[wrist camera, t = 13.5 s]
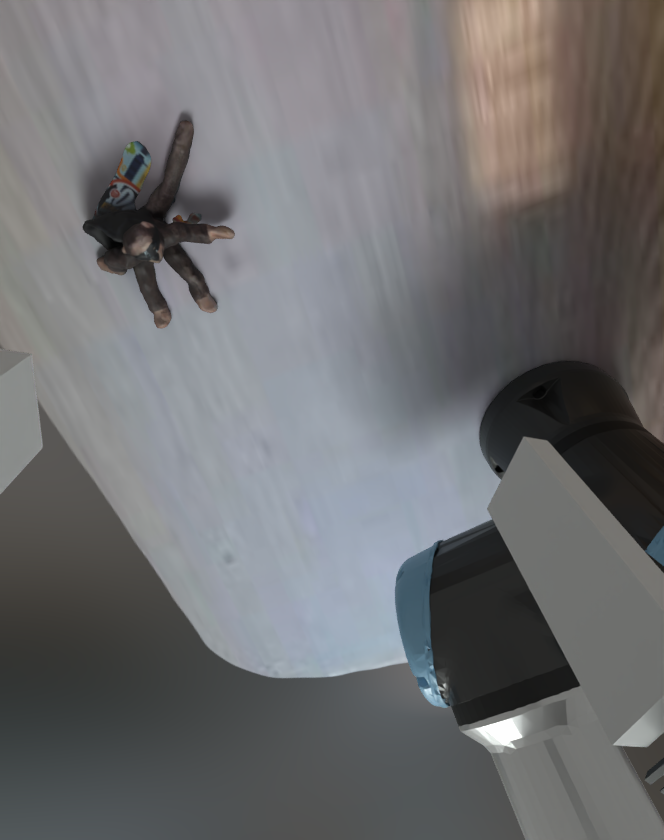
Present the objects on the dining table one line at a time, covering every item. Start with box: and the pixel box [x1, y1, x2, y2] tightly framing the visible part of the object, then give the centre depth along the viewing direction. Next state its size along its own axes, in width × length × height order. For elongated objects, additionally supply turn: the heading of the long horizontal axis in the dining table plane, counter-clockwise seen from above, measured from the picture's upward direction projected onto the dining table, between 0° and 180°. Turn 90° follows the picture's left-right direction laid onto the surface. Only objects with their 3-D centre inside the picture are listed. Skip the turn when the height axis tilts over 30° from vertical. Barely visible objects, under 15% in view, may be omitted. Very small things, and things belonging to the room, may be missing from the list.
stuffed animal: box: [83, 121, 235, 328], centre depth 36 cm, size 12×10×12 cm
